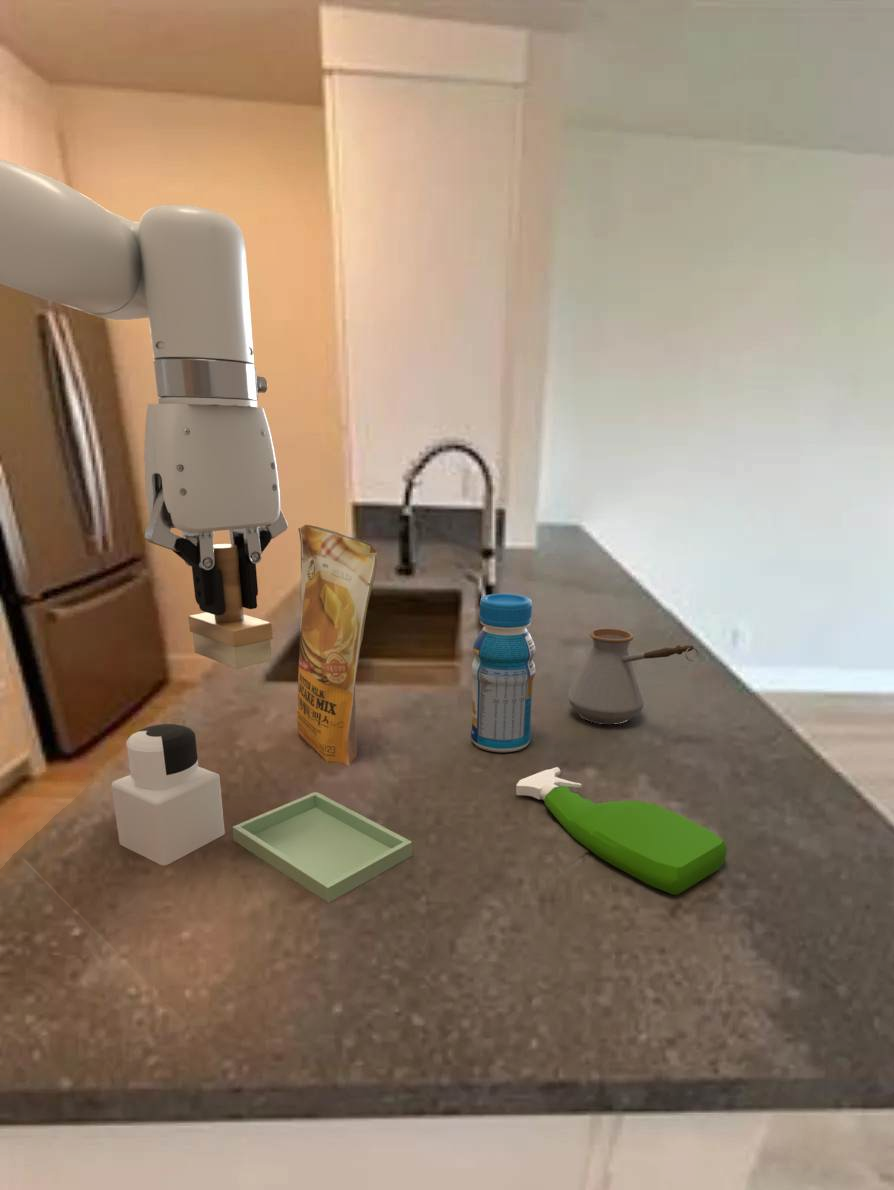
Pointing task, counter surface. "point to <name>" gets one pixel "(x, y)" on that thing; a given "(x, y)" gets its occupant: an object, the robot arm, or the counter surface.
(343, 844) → the tray
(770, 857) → the counter surface
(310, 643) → the pancake mix bag
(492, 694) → the beverage bottle
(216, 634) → the brush
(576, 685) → the coffee pot
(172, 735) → the medicine bottle
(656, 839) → the spray bottle
